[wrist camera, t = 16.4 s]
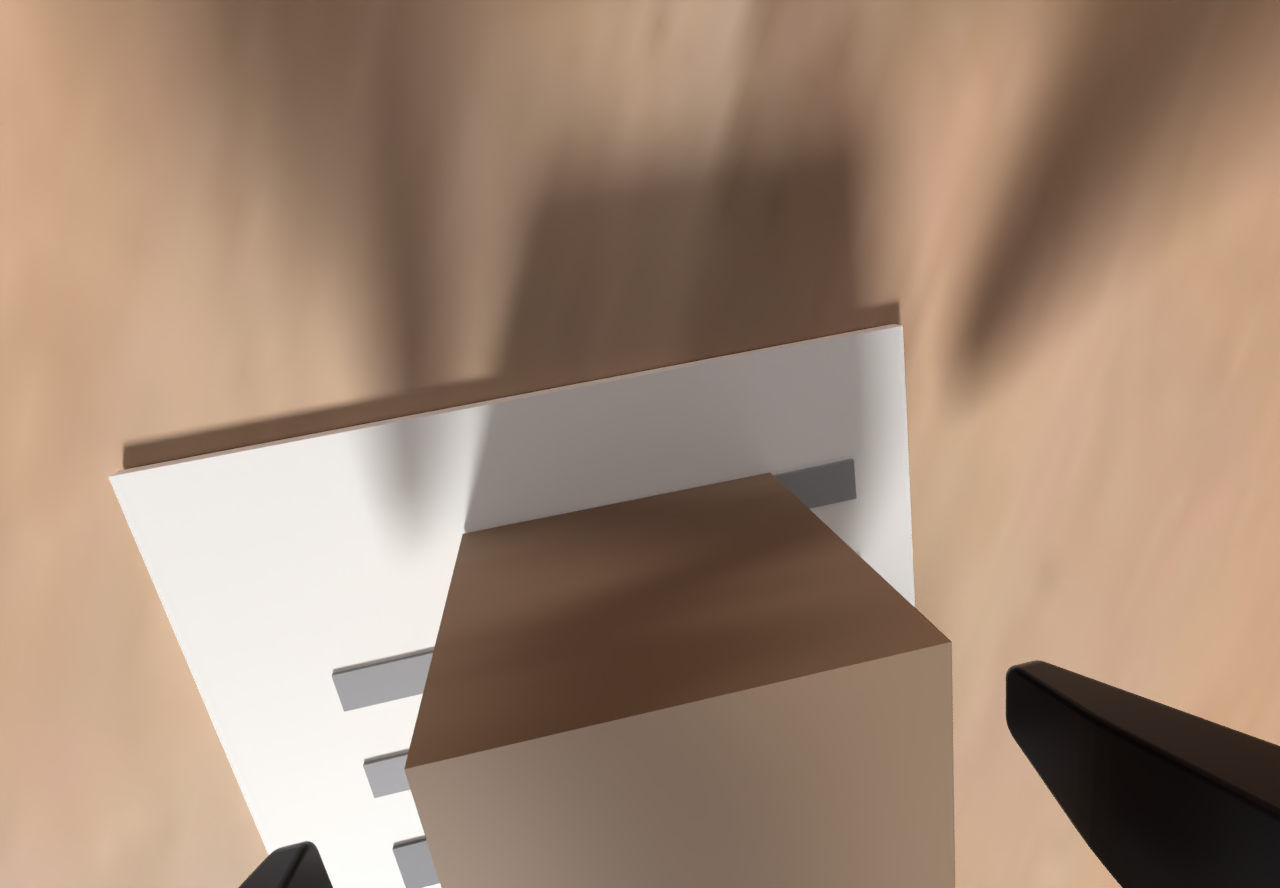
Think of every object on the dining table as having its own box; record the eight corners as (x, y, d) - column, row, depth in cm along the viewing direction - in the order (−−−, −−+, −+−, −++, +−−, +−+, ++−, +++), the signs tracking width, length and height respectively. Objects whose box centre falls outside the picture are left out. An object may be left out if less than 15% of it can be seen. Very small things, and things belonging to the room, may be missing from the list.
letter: (893, 323, 11) (905, 326, 11) (916, 803, 14) (925, 817, 14) (120, 470, 10) (105, 478, 9) (325, 960, 13) (319, 980, 12)
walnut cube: (769, 472, 11) (951, 641, 6) (795, 723, 12) (956, 1015, 8) (462, 533, 10) (404, 769, 6) (526, 788, 12) (522, 1143, 7)
